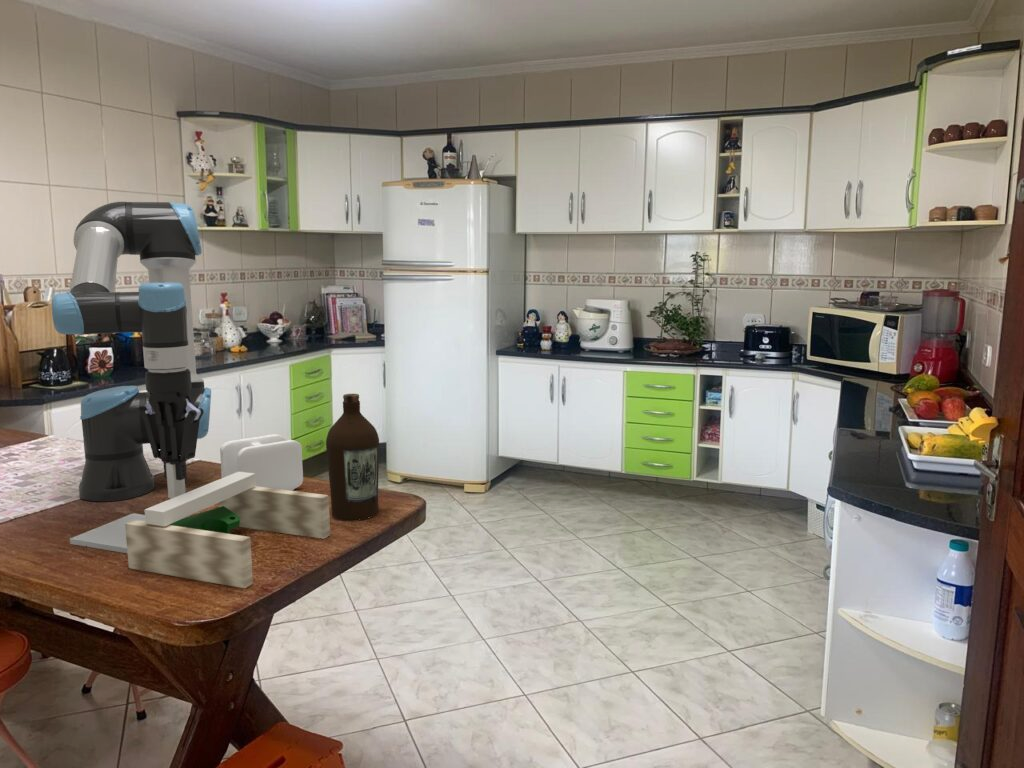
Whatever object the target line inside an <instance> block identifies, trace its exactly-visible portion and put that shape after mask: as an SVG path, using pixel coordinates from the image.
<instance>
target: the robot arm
mask: <svg viewBox="0 0 1024 768" xmlns="http://www.w3.org/2000/svg"><path fill="white" fill-rule="evenodd" d="M73 245H74V248H75V250H76V255H75V260H74V264H73V268H72V275H71V280H70V281H71V282H70V286H69V289H68V290H69V291H66V292H61V293H56V294H54V295H53V296H52V299H51V315H52V317H51V318H52V322H53V326H54V329H55V331H56V332H57V333H58V334H61V335H78V336H83V335H98V334H100V335H102V334H118V333H121V334H125V333H141V337H142V352H143V363H144V364H143V365H144V369H146V370H147V371H145V373H144V380H145V381H144V382H145V390H146V391H143V392H140V389H139V387H138V386H136V385H121V386H115V387H114V386H113V387H109V388H105V389H100V390H97V391H94V392H93V391H92V392H91V393H88V394H86V395H85V396H84V397H82V399H81V400H80V416H79V417H80V418H79V419H80V420H81V429H82V437H83V449H84V450H83V451H84V461H85V462H84V467H83V471H82V476H81V481H80V482H79V484H78V485H79V486H78V491H79V492H78V493H79V497H80V498H81V500H84V501H89V502H90V501H91V502H112V501H113V502H114V501H121V500H122V501H123V500H128V499H133V498H136V497H140V496H143V495H145V494H148V493H149V492H151V491H153V490H154V489H155V487H156V486H155V477H154V475H153V474H152V473H151V469H150V466H149V464H148V462H147V460H146V458H145V455H144V448H143V447H144V446H143V445H146V444H149V445H150V449H151V451H152V455H153V458H155V459H160V460H161V461H162V463H163V470H164V471H163V472H164V474H163V475H164V478H165V479H166V484H167V495H168V496H167V497H168V498H169V499H172V498H174V497H177V496H179V495H182V494H184V493H187V492H186V483H185V482H186V481H185V479H187V477H188V474H187V461H188V460H192V459H193V458H195V457H196V450H197V443H198V440H201V439H203V438H205V437H207V435H208V433H209V428H210V417H211V416H210V415H211V400H212V389H211V388H209V387H205V381H204V379H203V378H202V377H200V376H199V374H197V364H196V350H195V348H196V347H195V338H194V337H195V336H194V321H193V320H194V319H193V305H192V294H191V293H192V291H191V289H192V288H191V279H190V278H191V277H190V270H191V269H192V267H193V266H194V265H195V264H196V263H197V260H196V256H199V255H200V256H201V254H202V252H203V251H202V245H201V240H200V233H199V229H198V225H197V219H196V216H195V213H194V210H193V208H192V207H191V205H189V204H186V203H179V202H178V203H177V202H172V201H167V202H166V201H164V202H161V201H156V202H155V201H148V202H147V201H114V202H109V203H107V204H103V205H101V206H98V207H96V208H95V209H94V210H92V211H90V212H89V213H87V215H85V216H84V217H83V218H82V219H80V222H79V223H78V224H77V226H76V227H75V230H74V234H73ZM122 255H124V256H125V255H130V256H131V255H133V256H134V255H135V256H139V263H140V264H141V265H142V266H144V268H145V269H146V270H147V272H148V273H147V274H148V282H144V283H141V284H140V285H139V287H138V291H123V292H122V291H121V292H120V291H117V292H116V284H117V283H116V281H117V270H118V269H117V268H118V261H119V260H118V259H119V258H120V257H121V256H122Z"/></svg>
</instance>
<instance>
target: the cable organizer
mask: <svg viewBox="0 0 1024 768" xmlns="http://www.w3.org/2000/svg"><path fill="white" fill-rule="evenodd" d="M219 448H220V449H219V455H220V471H221V472H220V473H221V478H224V477H226V476H229V475H231V474H234V473H236V472H247V473H255V474H256V486H257V487H265V488H273V489H281V490H290V491H295V489H297V488H298V487H300V486H301V485H302V483H303V482H304V471H303V468H304V467H303V451H302V448H303V447H302V444H301V443H300V442H298V441H296V440H294V439H288V440H287V439H286V438H285V437H284V436H282V435H280V434H277V433H273V434H265V435H260V436H254V437H247V438H246V437H245V438H241V439H234V440H229V441H225V442H224V443H223V444H222V445H221V446H220V447H219Z"/></svg>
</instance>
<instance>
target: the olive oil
mask: <svg viewBox="0 0 1024 768" xmlns="http://www.w3.org/2000/svg"><path fill="white" fill-rule="evenodd" d="M342 399H343V401H342V409H343V411H342V414H341V416H339V418H338V419H337V420H336V422H334V423H333V425H332V426H331V427H330V429H329V430H328V433H327V435H326V441H325V448H326V449H325V450H326V457H327V471H328V477H329V480H328V481H329V488H330V489H329V491H330V506H331V515H332V517H333V518H334V519H336V518H337V520H339V519H340V520H339V521H345V520H357V521H360V520H359V519H364V520H366V519H365V518H368V517H371V516H373V515H375V514H376V513H377V512H378V513H379V469H380V468H379V465H380V464H379V462H380V438H379V437H380V436H379V434H378V431H377V429H376V428H375V426H374V425H373V424H372V423H371V422H370V421H369V420H368V419H367V418H366V417H365V416H364V415H363V414H362V413H361V401H360V395H359V394H358V393H346V394H343V395H342ZM378 513H377V514H378ZM377 514H376V515H377ZM376 515H375V516H376ZM373 517H374V516H373ZM371 518H372V517H371ZM368 519H369V518H368Z"/></svg>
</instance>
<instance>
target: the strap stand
mask: <svg viewBox="0 0 1024 768" xmlns="http://www.w3.org/2000/svg"><path fill="white" fill-rule="evenodd" d="M222 506H224V507H226V508H227V509H229V510H230V511H232V512H233V513H235V514H236V515H238V516H239V517H240V524H239V527H238V528H246V529H252V530H259V531H265V532H272V533H273V532H274V533H278V534H279V533H281V534H287V535H294V536H299V535H300V537H306V536H307V537H308V538H313V537H314V538H315V539H320V538H321V540H322V539H323V540H326V539H327V538H329V537H330V536H331V525H330V523H331V522H330V496H329V495H328V494H321V493H314V492H313V493H312V492H305V491H297V490H293V491H290V490H281V489H273V488H265V487H257V486H255V487H253V488H250V489H248V490H246V491H244V492H241V493H239V494H237V495H235V496H232V497H230V498H228V499H226V500H223V501H221V502H219V503H218V508H219V507H222ZM125 530H126V541H127V553H126V554H127V561H128V569H132V570H138V571H143V572H148V573H153V574H154V573H155V574H161V575H166V576H171V577H177V578H183V579H188V580H194V581H200V582H207V583H212V584H218V585H224V586H229V587H233V588H234V587H236V588H240V589H246V588H249V587H250V586H251V585H253V584H254V581H253V580H254V577H253V576H254V575H253V561H252V546H251V545H252V544H251V543H252V542H251V537H250V536H245V535H239V534H232V533H229V534H227V533H220V532H213V531H206V530H200V529H193V528H186V527H179V526H173V525H167V526H165V527H164V526H157V525H151V524H146V522H145V521H139V520H133V521H130V522H128V523H125ZM328 536H329V537H328ZM314 538H313V539H314Z"/></svg>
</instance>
